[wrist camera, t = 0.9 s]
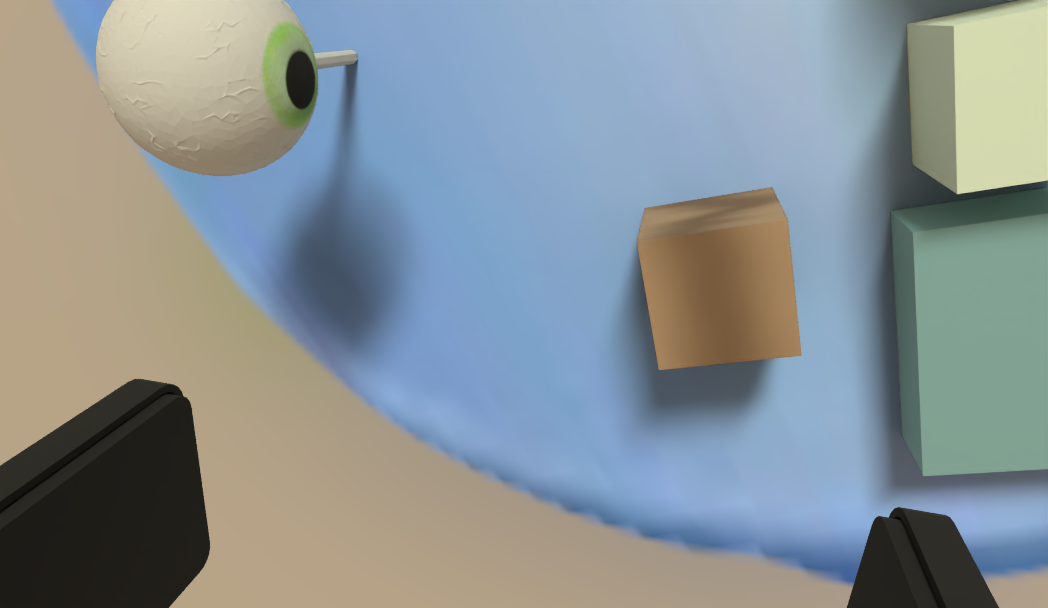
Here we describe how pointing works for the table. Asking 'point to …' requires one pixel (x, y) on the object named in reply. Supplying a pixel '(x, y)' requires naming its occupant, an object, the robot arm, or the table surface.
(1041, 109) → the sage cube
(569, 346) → the table surface
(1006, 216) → the base block
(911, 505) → the table surface
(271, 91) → the lollipop
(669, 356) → the walnut cube
